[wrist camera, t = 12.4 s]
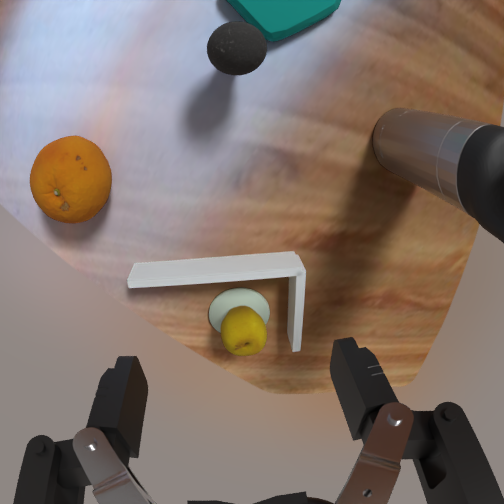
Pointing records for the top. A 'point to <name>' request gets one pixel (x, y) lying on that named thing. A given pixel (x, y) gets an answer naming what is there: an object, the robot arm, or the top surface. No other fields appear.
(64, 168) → the fruit
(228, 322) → the apple
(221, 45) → the light bulb
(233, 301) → the pad
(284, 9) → the spray bottle
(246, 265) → the grey corner wall
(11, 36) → the top surface
